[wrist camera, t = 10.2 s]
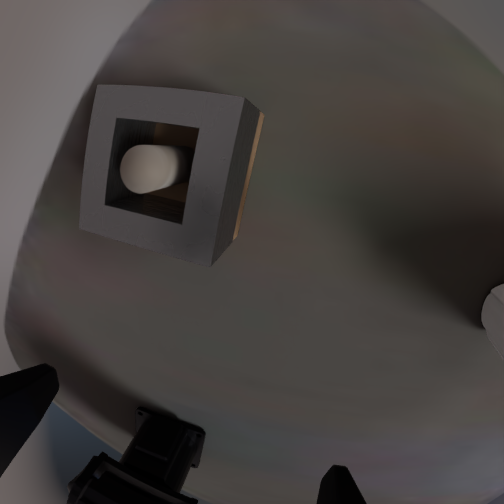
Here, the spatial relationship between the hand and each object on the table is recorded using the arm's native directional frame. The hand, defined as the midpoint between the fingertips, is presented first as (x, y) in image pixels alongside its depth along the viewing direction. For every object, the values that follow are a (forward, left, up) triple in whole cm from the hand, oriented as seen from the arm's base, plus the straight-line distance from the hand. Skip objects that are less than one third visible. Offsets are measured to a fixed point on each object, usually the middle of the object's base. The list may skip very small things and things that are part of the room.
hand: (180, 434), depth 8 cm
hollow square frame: (+6, +5, -10) cm, 13 cm away
